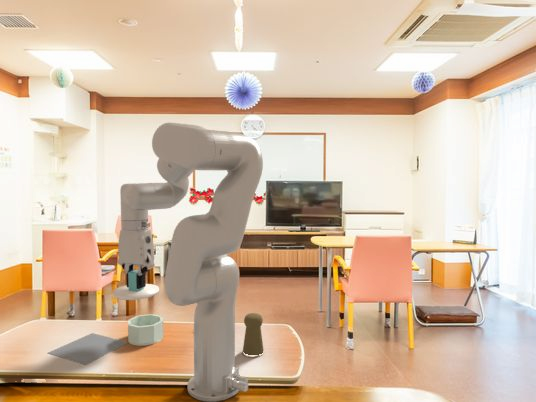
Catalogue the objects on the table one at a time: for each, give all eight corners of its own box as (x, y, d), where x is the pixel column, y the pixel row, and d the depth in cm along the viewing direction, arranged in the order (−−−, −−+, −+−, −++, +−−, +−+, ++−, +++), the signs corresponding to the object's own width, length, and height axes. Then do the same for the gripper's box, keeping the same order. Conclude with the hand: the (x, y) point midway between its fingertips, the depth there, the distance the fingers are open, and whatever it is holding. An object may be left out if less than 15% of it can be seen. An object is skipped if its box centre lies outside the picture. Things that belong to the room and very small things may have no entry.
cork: (250, 345, 115) (250, 309, 114) (267, 350, 112) (268, 313, 111) (238, 354, 110) (238, 315, 109) (256, 359, 107) (256, 320, 106)
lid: (168, 289, 119) (167, 268, 119) (138, 302, 108) (137, 279, 107) (134, 285, 125) (134, 264, 124) (102, 296, 113) (102, 274, 112)
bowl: (169, 336, 121) (169, 317, 120) (147, 349, 112) (146, 329, 111) (144, 330, 125) (144, 312, 125) (120, 343, 116) (120, 323, 116)
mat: (128, 343, 116) (128, 342, 115) (85, 366, 102) (85, 364, 102) (92, 334, 122) (92, 333, 122) (47, 354, 108) (47, 353, 108)
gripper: (165, 225, 115) (166, 286, 116) (123, 222, 121) (124, 280, 123) (148, 228, 108) (149, 293, 109) (104, 225, 115) (105, 287, 116)
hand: (136, 286), depth 116 cm, fingers closed on lid, 3 cm apart
